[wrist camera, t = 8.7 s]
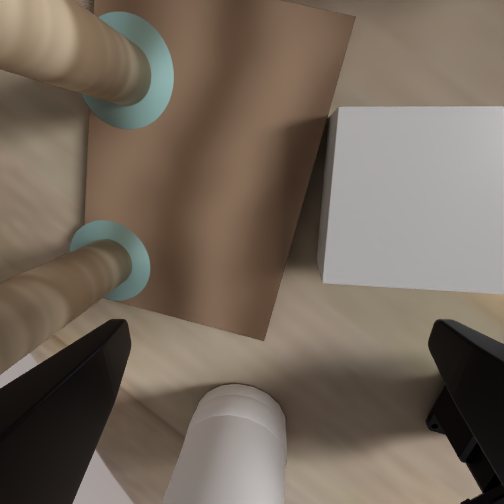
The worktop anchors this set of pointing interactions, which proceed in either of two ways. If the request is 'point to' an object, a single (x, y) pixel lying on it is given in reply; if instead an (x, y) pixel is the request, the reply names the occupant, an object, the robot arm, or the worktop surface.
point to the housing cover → (414, 198)
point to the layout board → (211, 152)
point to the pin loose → (71, 50)
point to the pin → (56, 295)
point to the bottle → (232, 451)
